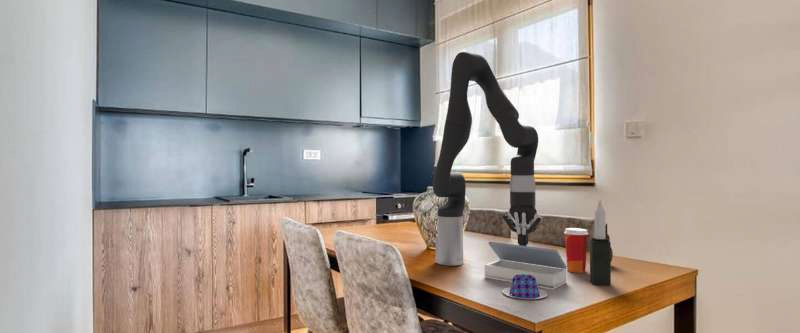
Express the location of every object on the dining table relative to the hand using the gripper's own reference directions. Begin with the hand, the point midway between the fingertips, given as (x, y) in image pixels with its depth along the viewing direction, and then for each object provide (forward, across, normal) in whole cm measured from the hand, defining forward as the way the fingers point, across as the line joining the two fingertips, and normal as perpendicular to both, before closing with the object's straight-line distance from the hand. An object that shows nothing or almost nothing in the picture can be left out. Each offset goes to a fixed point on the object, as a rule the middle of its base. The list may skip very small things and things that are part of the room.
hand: (523, 246), depth 137 cm
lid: (+3, 0, +2) cm, 4 cm away
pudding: (+11, +7, -13) cm, 18 cm away
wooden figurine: (+11, +12, +38) cm, 41 cm away
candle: (+11, +19, +12) cm, 25 cm away
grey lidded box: (+10, 0, +1) cm, 11 cm away
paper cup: (+11, +8, +23) cm, 26 cm away
